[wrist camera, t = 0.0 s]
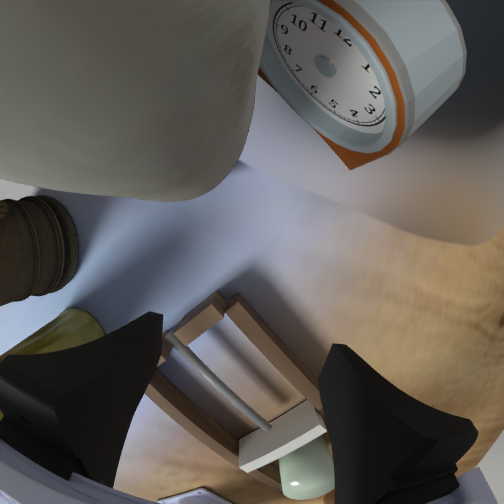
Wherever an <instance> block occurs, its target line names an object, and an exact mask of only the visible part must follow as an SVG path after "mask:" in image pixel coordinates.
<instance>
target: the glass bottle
mask: <svg viewBox="0 0 504 504" xmlns="http://www.w3.org/2000/svg"><path fill="white" fill-rule="evenodd" d="M269 4H270V0H0V178H1V179H4V180H8V181H12V182H16V183H20V184H25V185H30V186H35V187H40V188H45V189H51V190H57V191H65V192H73V193H81V194H91V195H100V196H113V197H128V198H136V199H142V200H149V201H158V202H177V201H185V200H189V199H193V198H196V197H199V196H201V195H203V194H205V193H207V192H209V191H211V190H212V189H213V188H215V187H216V186H217V185H218V184H220V183H221V182H222V181H223V180H224V179H225V178H226V176H227V175H228V174H229V173H230V172H231V170H232V169H233V168H234V166H235V164H236V162H237V161H238V159H239V157H240V155H241V153H242V151H243V148H244V145H245V142H246V138H247V135H248V132H249V127H250V124H251V119H252V115H253V110H254V103H255V89H256V79H257V74H258V69H259V65H260V58H261V55H262V47H263V43H264V38H265V35H266V29H267V23H268V17H269Z"/></svg>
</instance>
